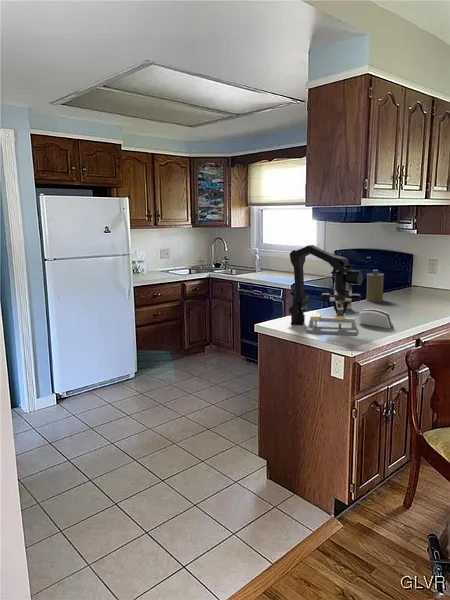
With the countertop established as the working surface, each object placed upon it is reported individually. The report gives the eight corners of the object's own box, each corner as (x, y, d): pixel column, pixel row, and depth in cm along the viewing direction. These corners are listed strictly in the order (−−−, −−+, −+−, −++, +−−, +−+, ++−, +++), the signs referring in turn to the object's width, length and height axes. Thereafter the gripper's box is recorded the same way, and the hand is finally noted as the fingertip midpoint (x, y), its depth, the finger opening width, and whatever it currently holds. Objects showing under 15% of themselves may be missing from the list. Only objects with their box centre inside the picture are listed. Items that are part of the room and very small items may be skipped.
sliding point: (335, 328, 224) (335, 310, 222) (336, 324, 230) (336, 307, 228) (343, 328, 223) (344, 310, 221) (344, 325, 229) (344, 307, 227)
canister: (383, 302, 288) (384, 271, 284) (366, 301, 290) (367, 271, 286) (382, 298, 298) (383, 268, 294) (365, 298, 301) (366, 268, 297)
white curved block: (393, 326, 231) (391, 309, 227) (390, 331, 228) (387, 314, 224) (363, 321, 243) (360, 305, 238) (359, 326, 240) (356, 310, 236)
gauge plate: (306, 332, 225) (306, 318, 224) (309, 326, 236) (309, 312, 235) (356, 335, 218) (356, 320, 216) (356, 328, 229) (357, 314, 228)
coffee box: (337, 310, 271) (338, 283, 268) (333, 308, 277) (333, 282, 274) (351, 309, 273) (352, 282, 269) (347, 306, 279) (347, 281, 276)
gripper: (319, 285, 218) (319, 317, 221) (360, 286, 212) (359, 318, 215) (322, 281, 228) (321, 312, 231) (360, 282, 222) (359, 313, 226)
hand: (340, 314), depth 225 cm, fingers closed on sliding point, 3 cm apart
